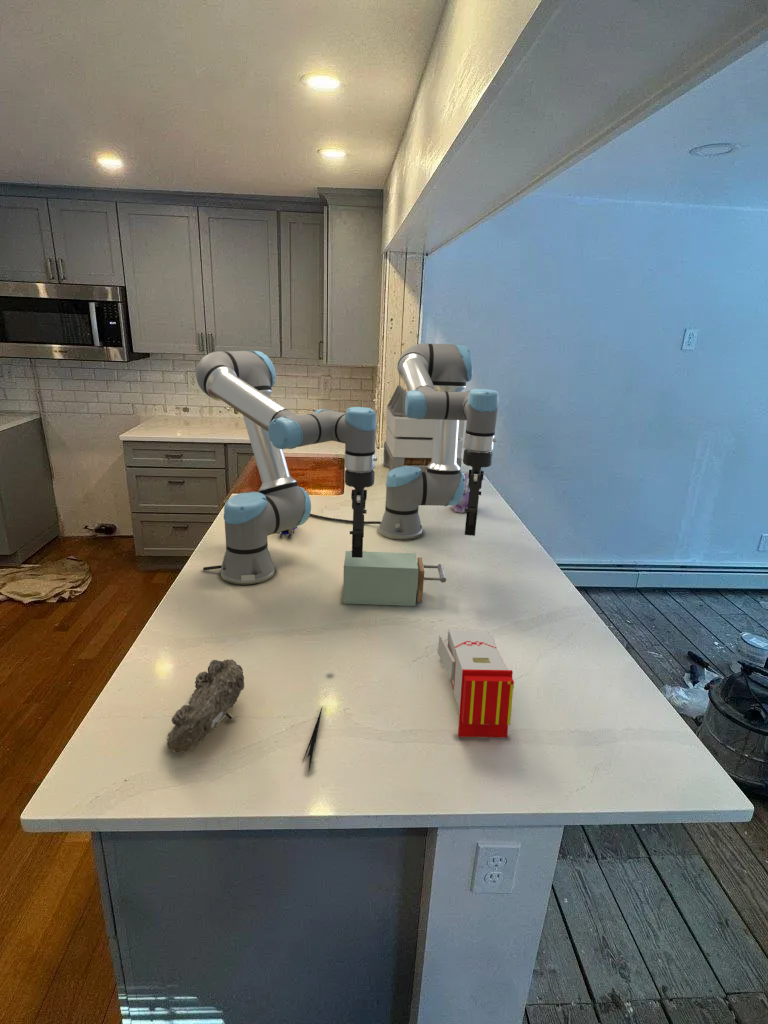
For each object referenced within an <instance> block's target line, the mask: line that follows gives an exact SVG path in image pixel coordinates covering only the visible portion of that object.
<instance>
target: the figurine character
mask: <svg viewBox="0 0 768 1024" xmlns="http://www.w3.org/2000/svg"><path fill="white" fill-rule="evenodd" d="M297 529H298V526H297V527H296V528H292V529H288V530H284V531H281V532H278V533H275V534H276V535H279V538H280V539H282V538H283V535H284V536H287V539H291V537H292V535H293V534H294V533H295V530H297Z"/></svg>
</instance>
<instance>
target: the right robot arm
mask: <svg viewBox="0 0 768 1024" xmlns="http://www.w3.org/2000/svg"><path fill="white" fill-rule="evenodd" d="M473 365H474V364H473V357H472V354H471V350H470V349H469V347H468V346H466V345H463V344H456V343H452V344H451V343H428V342H423V343H417V344H415V345H412V346H410V347H408V348H407V349H406V350H404V351H403V352H402V354H401V355H400V357H399V358H398V361H397V372H398V374H399V375H398V376H399V377H400V379H401V380H402V381H404V384H405V387H406V393H407V394H406V398H405V414H406V416H407V417H408V418H413V419H418V420H420V419H434V423H433V442H432V460H431V463H430V464H429V465H428V466H426V471H422V469H421V468H420V466H407V465H404V466H403V467H398V468H394V469H392V470H391V471H390V470H388V473H387V475H386V482H385V487H386V488H385V489H386V490H385V504H384V505H385V507H384V508H385V509H384V513H383V515H382V519H381V521H379V520H378V521H377V520H376V521H374V520H373V521H372V520H371V521H368V520H367V521H365V520H364V525H378V533H379V534H380V535H381V536H382V537H385V538H387V539H389V540H395V541H410V540H415V539H418V538H420V537H421V536H422V535H423V525H422V524H421V518H420V515H419V507H420V506H442V507H450V506H451V507H452V505H457V504H458V503H459V502H460V501H461V499H462V496H463V493H464V487H465V482H464V481H465V476H464V475H465V473H464V472H462V471H461V472H460V467H459V466H458V465H457V463H456V461H457V445H458V429H459V420H465V421H466V425H465V426H466V427H465V433H464V441H463V442H464V443H463V448H464V450H463V456H462V463H463V464H464V465H465V466H467V467H471V469H468V479H467V480H468V488H469V500H468V508H467V509H465V510H464V512H463V513H466V515H465V526H464V535H465V536H472V537H475V536H476V528H477V519H478V512H479V509H478V508H479V500H480V496H482V491H480V490H481V489H482V485H483V480H484V475H485V473H484V472H485V471H484V470H482V468H489V467H491V466H492V464H493V455H494V453H493V450H494V443H496V442H497V438H495V435H496V429H497V428H496V427H497V418H498V409H499V407H500V406H499V405H500V403H499V399H500V398H499V395H500V393H499V392H498V391H497V390H496V389H495V390H494V389H491V388H473V389H471V390H464V389H466V387H467V383H468V382H471V380H472V378H473V373H474V371H473V368H474V367H473ZM463 390H464V391H463ZM309 517H312V518H317V519H322V520H326V521H331V522H341V523H347V524H353V519H352V520H350V519H344V518H343V519H342V518H335V517H330V516H329V517H328V516H322V515H318V514H314V513H310V515H309Z"/></svg>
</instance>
